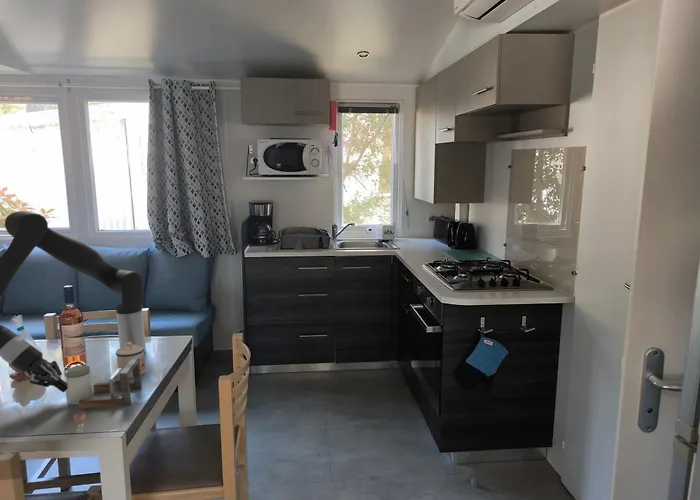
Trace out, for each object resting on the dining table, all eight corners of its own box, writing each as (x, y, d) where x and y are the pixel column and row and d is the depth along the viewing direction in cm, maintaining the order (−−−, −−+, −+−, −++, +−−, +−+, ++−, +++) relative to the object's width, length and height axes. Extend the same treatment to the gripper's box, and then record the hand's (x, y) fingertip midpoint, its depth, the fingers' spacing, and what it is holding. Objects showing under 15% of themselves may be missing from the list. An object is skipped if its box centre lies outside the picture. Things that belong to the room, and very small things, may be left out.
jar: (73, 396, 156) (70, 366, 155) (96, 394, 157) (92, 364, 156) (65, 406, 150) (61, 374, 148) (88, 404, 151) (85, 372, 149)
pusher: (120, 390, 159) (118, 368, 158) (138, 388, 160) (136, 367, 158) (111, 402, 151) (108, 379, 149) (130, 400, 151) (128, 377, 150)
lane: (95, 390, 160) (92, 360, 158) (141, 387, 162) (139, 357, 160) (79, 409, 147) (75, 376, 146) (129, 405, 149) (126, 373, 148)
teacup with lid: (140, 378, 169) (137, 346, 167) (113, 379, 168) (110, 347, 166) (152, 365, 180) (150, 335, 179) (127, 366, 180) (124, 336, 178)
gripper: (16, 353, 142) (65, 389, 146) (39, 338, 155) (83, 372, 159) (-1, 371, 143) (48, 407, 146) (23, 354, 156) (68, 388, 159)
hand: (66, 389), depth 152 cm, fingers closed
